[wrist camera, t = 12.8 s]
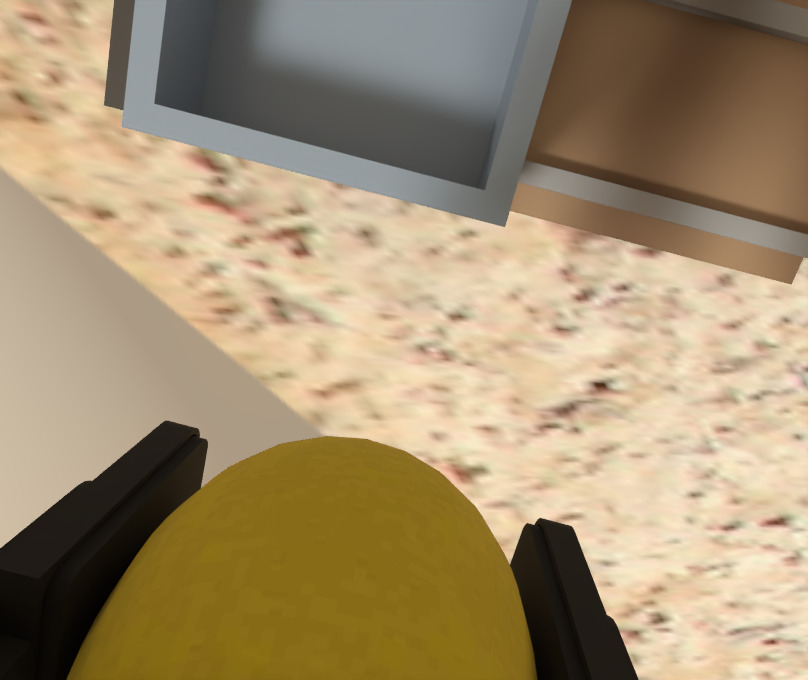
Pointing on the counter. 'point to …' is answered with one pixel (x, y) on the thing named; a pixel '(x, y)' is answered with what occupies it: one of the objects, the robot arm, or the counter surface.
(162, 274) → the counter surface
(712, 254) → the track
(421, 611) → the lemon
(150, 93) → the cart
